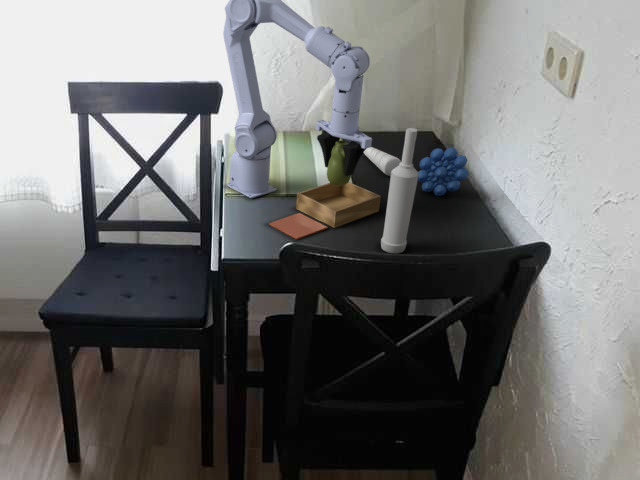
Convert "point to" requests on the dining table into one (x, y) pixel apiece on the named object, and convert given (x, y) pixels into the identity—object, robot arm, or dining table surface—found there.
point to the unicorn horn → (382, 160)
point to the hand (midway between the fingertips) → (339, 170)
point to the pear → (337, 165)
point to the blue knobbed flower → (442, 171)
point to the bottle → (400, 198)
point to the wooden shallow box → (337, 203)
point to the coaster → (298, 226)
